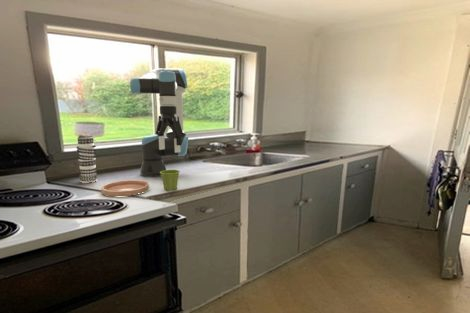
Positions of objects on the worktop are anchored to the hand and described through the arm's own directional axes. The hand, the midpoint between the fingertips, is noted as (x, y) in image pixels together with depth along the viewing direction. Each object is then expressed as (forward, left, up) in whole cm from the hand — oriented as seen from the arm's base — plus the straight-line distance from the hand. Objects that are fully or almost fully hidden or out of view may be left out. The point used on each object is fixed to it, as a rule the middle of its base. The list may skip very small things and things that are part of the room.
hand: (169, 150), depth 144 cm
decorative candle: (-44, -23, -19) cm, 53 cm away
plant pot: (0, 0, -19) cm, 19 cm away
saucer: (-12, -17, -19) cm, 28 cm away
